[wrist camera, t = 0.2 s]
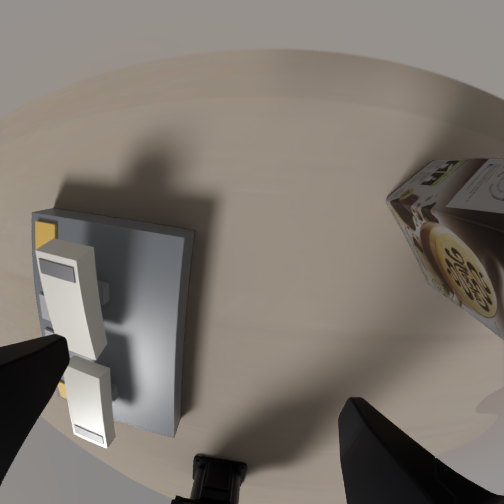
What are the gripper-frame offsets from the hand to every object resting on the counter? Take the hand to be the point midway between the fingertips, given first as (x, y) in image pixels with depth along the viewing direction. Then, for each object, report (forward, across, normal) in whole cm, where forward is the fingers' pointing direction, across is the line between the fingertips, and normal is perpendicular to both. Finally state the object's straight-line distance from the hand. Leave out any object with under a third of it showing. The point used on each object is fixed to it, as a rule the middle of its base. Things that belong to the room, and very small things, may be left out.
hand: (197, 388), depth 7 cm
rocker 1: (+8, +10, +4) cm, 14 cm away
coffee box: (+15, -15, -6) cm, 22 cm away
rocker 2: (+8, +10, +14) cm, 19 cm away
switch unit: (+14, +10, +8) cm, 20 cm away
